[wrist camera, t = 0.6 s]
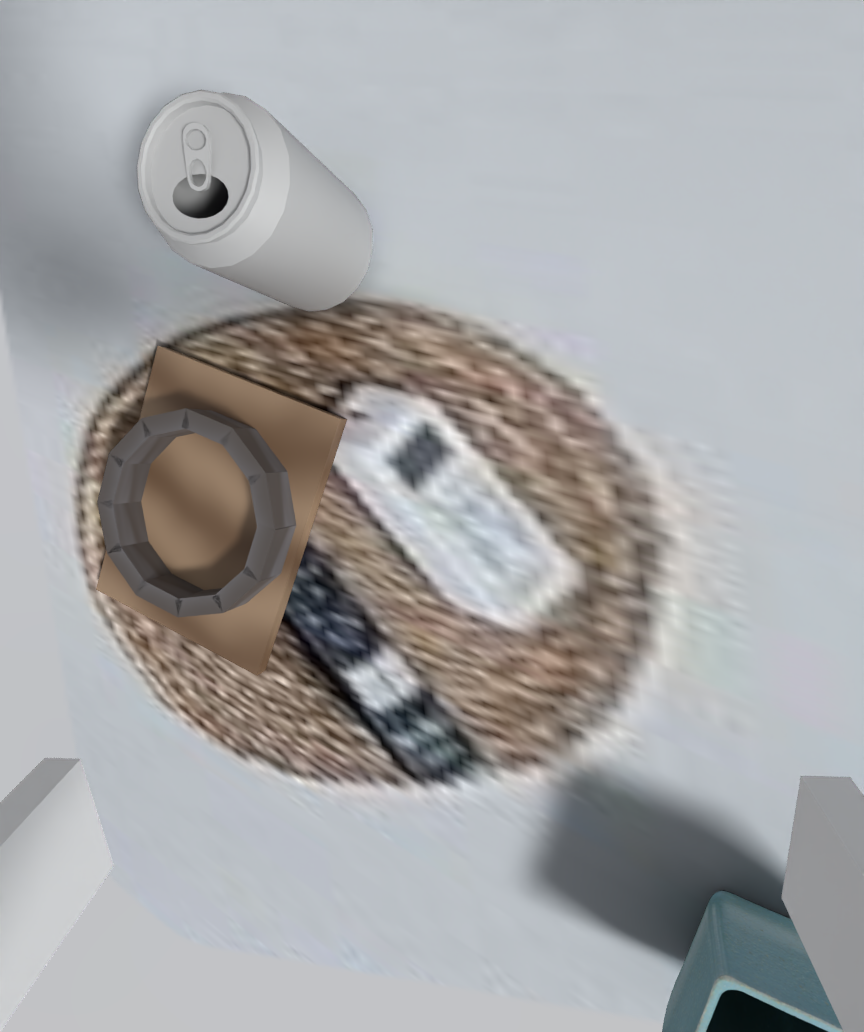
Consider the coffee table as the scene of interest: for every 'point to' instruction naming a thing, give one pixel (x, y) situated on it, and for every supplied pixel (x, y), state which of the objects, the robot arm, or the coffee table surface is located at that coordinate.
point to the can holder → (214, 505)
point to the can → (252, 202)
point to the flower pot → (747, 975)
